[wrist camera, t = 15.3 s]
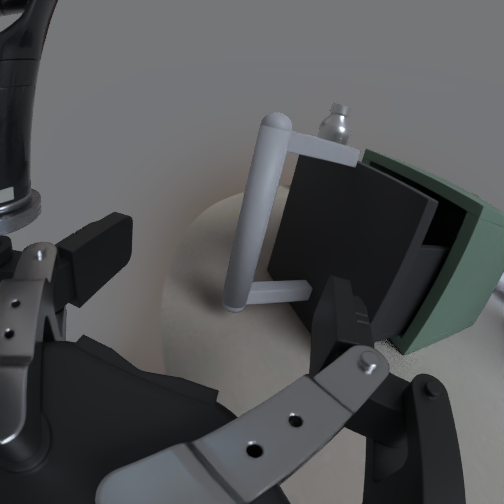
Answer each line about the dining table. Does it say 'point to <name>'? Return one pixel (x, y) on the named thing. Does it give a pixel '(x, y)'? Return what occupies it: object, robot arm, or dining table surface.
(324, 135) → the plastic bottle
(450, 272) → the green drawer cabinet
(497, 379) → the dining table surface
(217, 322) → the dining table surface
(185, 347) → the dining table surface
